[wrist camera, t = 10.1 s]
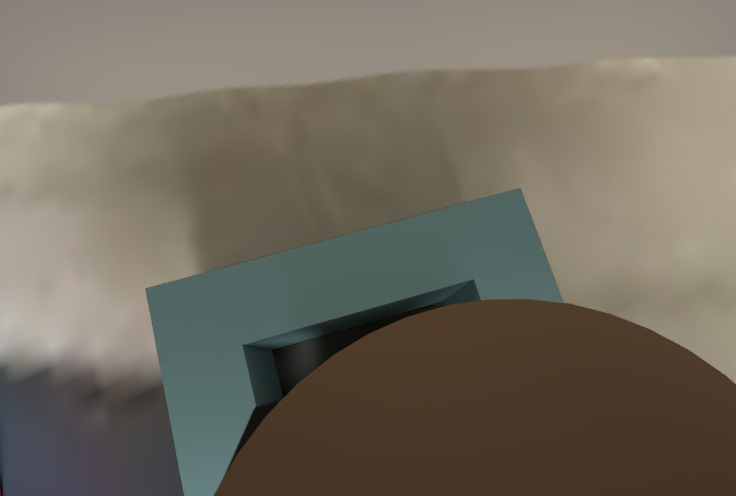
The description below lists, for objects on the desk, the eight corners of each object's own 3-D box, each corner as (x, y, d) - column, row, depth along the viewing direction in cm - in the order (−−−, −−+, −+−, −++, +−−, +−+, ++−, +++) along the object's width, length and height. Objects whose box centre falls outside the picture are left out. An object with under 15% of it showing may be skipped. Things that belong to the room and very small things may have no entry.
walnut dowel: (456, 481, 15) (1029, 1120, 2) (325, 494, 15) (154, 1267, 2) (441, 347, 16) (789, 275, 3) (317, 357, 16) (167, 324, 3)
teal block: (581, 529, 15) (672, 594, 11) (268, 636, 14) (232, 754, 10) (478, 232, 18) (520, 187, 13) (200, 308, 17) (145, 288, 12)
